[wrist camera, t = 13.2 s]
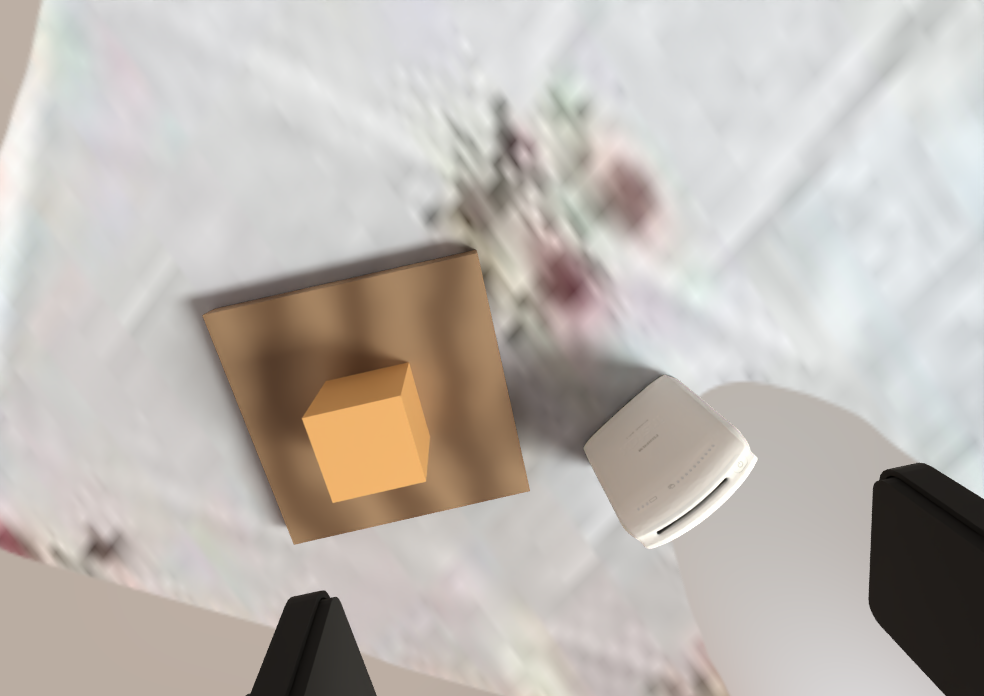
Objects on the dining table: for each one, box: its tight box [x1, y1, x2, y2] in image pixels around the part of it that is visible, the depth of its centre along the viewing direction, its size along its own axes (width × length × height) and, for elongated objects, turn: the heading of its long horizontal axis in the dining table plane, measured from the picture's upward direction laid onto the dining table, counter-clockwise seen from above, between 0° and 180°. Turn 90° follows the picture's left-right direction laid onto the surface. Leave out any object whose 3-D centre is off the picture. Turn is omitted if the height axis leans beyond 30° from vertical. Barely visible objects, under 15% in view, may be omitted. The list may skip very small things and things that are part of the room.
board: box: [202, 250, 530, 545], centre depth 39 cm, size 20×20×7 cm
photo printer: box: [584, 375, 757, 549], centre depth 39 cm, size 10×4×12 cm, turn 134°
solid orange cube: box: [302, 362, 430, 503], centre depth 37 cm, size 6×6×6 cm
